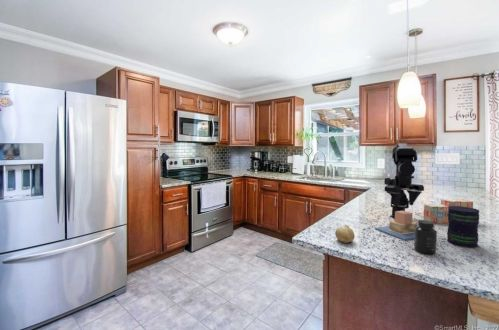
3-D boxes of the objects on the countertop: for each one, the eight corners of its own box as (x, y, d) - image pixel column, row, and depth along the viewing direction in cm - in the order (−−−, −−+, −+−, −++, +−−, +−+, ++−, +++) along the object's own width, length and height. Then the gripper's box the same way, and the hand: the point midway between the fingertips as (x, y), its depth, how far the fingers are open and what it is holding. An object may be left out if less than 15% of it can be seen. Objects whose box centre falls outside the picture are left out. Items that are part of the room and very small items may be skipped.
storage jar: (471, 250, 92) (473, 212, 92) (442, 241, 101) (443, 207, 100) (482, 245, 97) (484, 209, 96) (453, 237, 106) (454, 205, 105)
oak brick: (405, 227, 117) (405, 219, 117) (416, 231, 111) (417, 223, 111) (389, 229, 114) (389, 221, 114) (400, 233, 109) (400, 225, 108)
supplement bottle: (409, 248, 94) (410, 219, 94) (425, 247, 95) (426, 218, 94) (424, 256, 87) (425, 224, 87) (440, 255, 88) (442, 223, 87)
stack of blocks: (430, 223, 127) (431, 201, 126) (423, 220, 133) (423, 198, 133) (472, 223, 126) (473, 201, 125) (462, 220, 132) (463, 198, 131)
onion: (356, 245, 98) (357, 228, 98) (337, 244, 99) (337, 227, 99) (351, 238, 106) (352, 223, 106) (333, 237, 107) (333, 222, 107)
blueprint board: (401, 225, 123) (401, 223, 123) (433, 235, 108) (433, 234, 108) (374, 229, 118) (374, 227, 118) (404, 240, 103) (404, 238, 102)
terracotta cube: (402, 220, 116) (402, 210, 115) (412, 223, 111) (412, 213, 111) (394, 221, 114) (395, 211, 114) (404, 224, 109) (404, 214, 109)
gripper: (403, 171, 122) (402, 201, 123) (375, 173, 116) (374, 203, 117) (425, 173, 111) (424, 205, 112) (395, 175, 106) (394, 209, 106)
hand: (403, 206), depth 112 cm, fingers open, 9 cm apart
